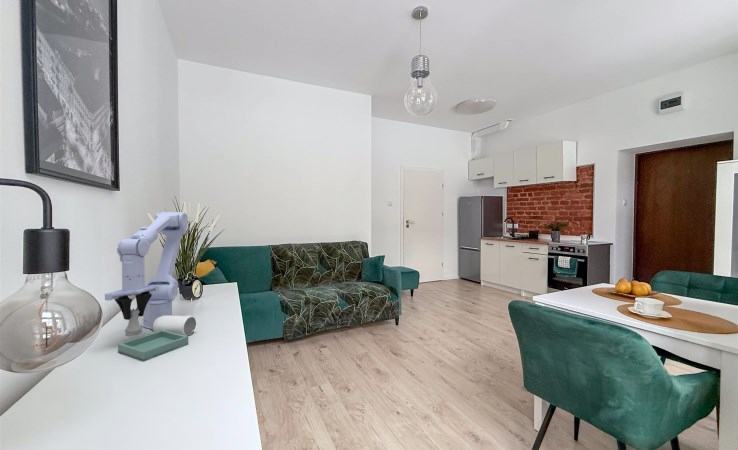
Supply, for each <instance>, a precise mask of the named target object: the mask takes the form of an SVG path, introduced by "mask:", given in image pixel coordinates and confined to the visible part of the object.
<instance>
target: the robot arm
mask: <svg viewBox="0 0 738 450" xmlns="http://www.w3.org/2000/svg"><path fill="white" fill-rule="evenodd" d="M188 218H189V217H188V214H187V213H186V212H184V211H158V212H157V213H156V214H155V215H154V220H153V221H152V223H151V224H149V225H148V226H142V227H140V228H139V230H138V231H137V232H135V233H134V234H132V236H131V237H129V238H124V239H122V240H120V241H119V243H118V245H117V248H116V253H117V254H118V257H119V261H120V262H121V265H122V266H121V279H122V280H121V287H122V288H121V289H120V290H115V291H111V292H107V293H104V301H113V300H114V301H115V302H116V304H117V305H118V307H119V309H120V312H121V313H122V317H123V319H124V320H125V321H129V319H130V309H132V308H131V305H132V301H133V299H132V298H130V297H131V296H134V297H135V300H136V308H138V309H139V311H140V312H139V314H138V316H139V317H142V321H143V323H142V324H140V327H141V328H145V329H150V330H152V324H153V322H154V320H155V319H156V318H157V317H161V316H166V315H167V316H173V301H174V300H175V299H176V298H177V297H178V291H179V290H178V288H179V282H178V280H177V279H176V278H174V277H173V273H174V270H175V264H176V262H177V257H178V253H179V250H180V245H181V241H182V237H183V236H185V234H186V232H187V229H188V225H189V219H188ZM159 233H161V235H163V236H165V240H164V241H165V242H164V245H163V249H162V252H161V255H160V260H159V263H158V267H157V270H156V274H155V275H154V276H152V277H151V278H149V279H148V280H147V281H145V256H147V255H148V254H149V249H150V248H151V245H152V244H153V243H154V242H155V241H156V240H157V239H158V237H159ZM145 283H146V284H145Z"/></svg>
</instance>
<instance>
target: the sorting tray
mask: <svg viewBox="0 0 738 450" xmlns="http://www.w3.org/2000/svg"><path fill="white" fill-rule="evenodd" d="M188 345H189V335H188V336H185V335H181V334H177V333H173V332H169V331H165V330H162V331H158V332H155V333H154V332H153V333H150V334H146V335H143V336H140V337H136V338H133V339H129V340H127V341H125V342H124V341H123V342H120V343H117V353H119V354H121V355H123V356H127V357H130V358H133V359H136V360H139V361H142V362H146V361H148V360H151V359H154V358H156V357H159V356H161V355H164V354H168V353H169V352H172V351H174V350H178V349H179V348H182V347H184V346H188Z"/></svg>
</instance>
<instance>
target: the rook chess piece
mask: <svg viewBox="0 0 738 450" xmlns="http://www.w3.org/2000/svg"><path fill="white" fill-rule="evenodd" d="M139 312H140V311H139V309H138V308H137V307H136V308H130V319H129V320H128V324H127V326H126V329H125V330H124V332H125V333H124V336H126V337H134V336H138V335H140V334H141V333H142V328H143V327H141V324H140V322H139V317H140V316H138V314H139Z"/></svg>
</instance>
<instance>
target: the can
mask: <svg viewBox="0 0 738 450" xmlns="http://www.w3.org/2000/svg"><path fill="white" fill-rule="evenodd" d="M196 325H197V321H196V318H195V317H194V316H192V315H172V316H167V315H166V316H161V317H157V318H156V319H155V320H154V322H153V324H152V329H151V330H152V332H153V333H155V332H158V331H162V330H165V331H169V332H173V333H177V334H181V335H185V336H188V337H189V336H190V335H192V334H193V332H194V331H195V330H196Z"/></svg>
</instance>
